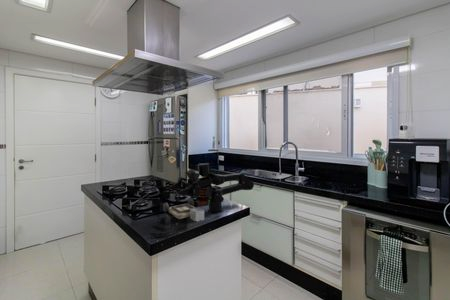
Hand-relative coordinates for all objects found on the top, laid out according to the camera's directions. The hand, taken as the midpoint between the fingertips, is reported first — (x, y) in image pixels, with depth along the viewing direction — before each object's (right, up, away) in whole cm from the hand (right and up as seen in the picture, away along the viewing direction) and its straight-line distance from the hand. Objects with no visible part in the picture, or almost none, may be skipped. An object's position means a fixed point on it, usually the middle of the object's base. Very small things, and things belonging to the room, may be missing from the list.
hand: (173, 190), depth 113 cm
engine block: (+11, -16, +5) cm, 20 cm away
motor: (+12, -14, +32) cm, 38 cm away
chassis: (+2, -15, +15) cm, 22 cm away
